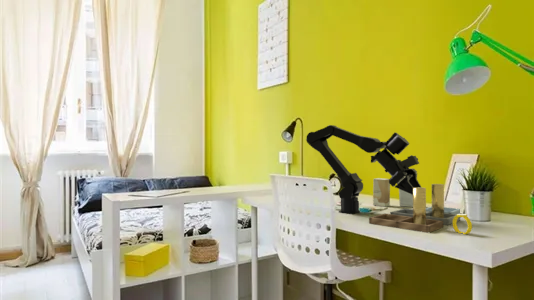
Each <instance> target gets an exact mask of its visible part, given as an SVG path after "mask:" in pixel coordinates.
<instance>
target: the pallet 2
mask: <svg viewBox="0 0 534 300" xmlns="http://www.w3.org/2000/svg"><path fill="white" fill-rule="evenodd" d="M389 214H393V215H400V216H408V217H413V208H411V209H410V208H401V209H398V210H397V209H396V210H393V211H390V212H389ZM455 216H457V215H456V214H448V213H444V218H438V217H432V212H430V211H426V219H431V220H439V221H443V226H450V225H453V219H454V217H455ZM457 221H458V222H460V221H461V217H458V219H457Z"/></svg>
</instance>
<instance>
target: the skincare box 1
mask: <svg viewBox="0 0 534 300" xmlns="http://www.w3.org/2000/svg"><path fill="white" fill-rule="evenodd" d="M389 179H390V178H381V177H377V178H373V179H372V180H373V183H372V184H373V187H372V192H373V194H372V205H373V206H375V205H376V206H378V207H384V208H386V207H390V205H391V201H390V200H391V185H390V184H389Z"/></svg>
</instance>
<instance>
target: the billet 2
mask: <svg viewBox="0 0 534 300" xmlns="http://www.w3.org/2000/svg"><path fill="white" fill-rule="evenodd" d="M444 185H445V184H442V183H431V207H432V217H438V218H444V207H445V186H444Z"/></svg>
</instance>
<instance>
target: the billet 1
mask: <svg viewBox="0 0 534 300" xmlns="http://www.w3.org/2000/svg"><path fill="white" fill-rule="evenodd" d="M426 208H427V188H426V187H422V188H420V187H415V188H413V207H412V209H413V223H415V224H422V225H426Z"/></svg>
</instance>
